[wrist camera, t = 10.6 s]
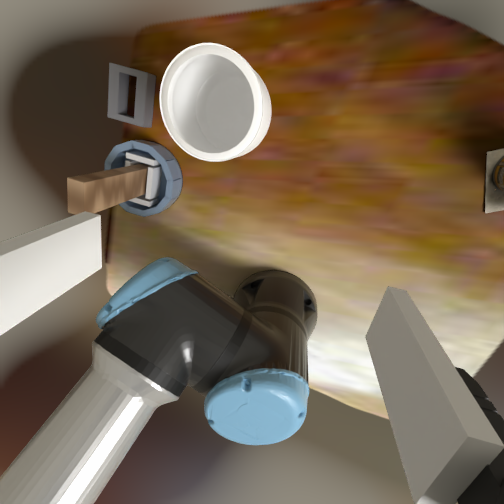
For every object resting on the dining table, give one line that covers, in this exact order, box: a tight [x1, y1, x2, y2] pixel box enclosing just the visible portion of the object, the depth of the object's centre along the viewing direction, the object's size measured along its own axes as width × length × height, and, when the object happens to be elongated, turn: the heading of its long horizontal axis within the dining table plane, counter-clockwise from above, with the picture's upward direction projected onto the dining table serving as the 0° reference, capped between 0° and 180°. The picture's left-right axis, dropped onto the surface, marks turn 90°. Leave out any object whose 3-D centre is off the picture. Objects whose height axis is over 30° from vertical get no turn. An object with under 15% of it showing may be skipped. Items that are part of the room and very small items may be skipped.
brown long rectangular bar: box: [67, 163, 151, 215], centre depth 39 cm, size 4×2×16 cm, turn 166°
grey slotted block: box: [108, 63, 156, 127], centre depth 42 cm, size 7×6×2 cm
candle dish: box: [104, 140, 183, 217], centre depth 46 cm, size 11×11×4 cm
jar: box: [160, 43, 271, 162], centre depth 35 cm, size 11×10×15 cm
